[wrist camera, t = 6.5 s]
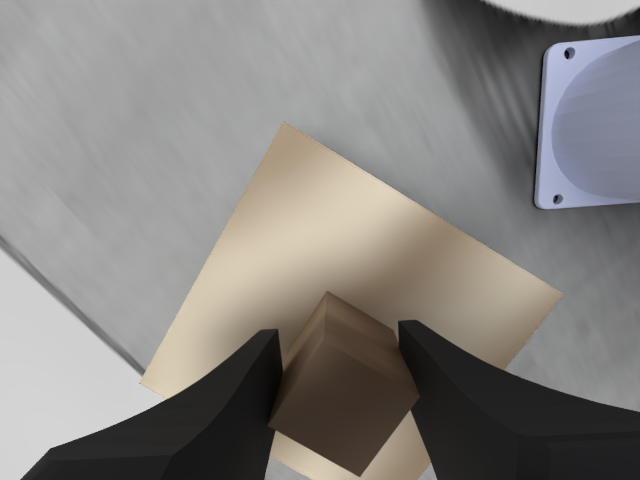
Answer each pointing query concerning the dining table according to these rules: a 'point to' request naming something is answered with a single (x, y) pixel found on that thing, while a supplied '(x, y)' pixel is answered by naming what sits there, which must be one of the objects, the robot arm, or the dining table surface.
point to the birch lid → (343, 308)
